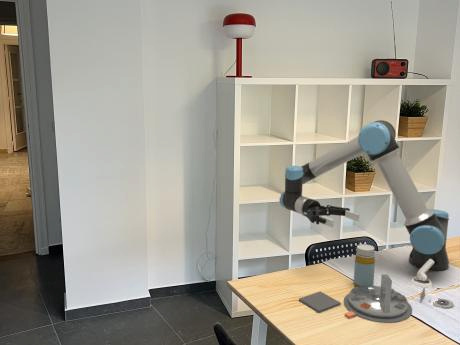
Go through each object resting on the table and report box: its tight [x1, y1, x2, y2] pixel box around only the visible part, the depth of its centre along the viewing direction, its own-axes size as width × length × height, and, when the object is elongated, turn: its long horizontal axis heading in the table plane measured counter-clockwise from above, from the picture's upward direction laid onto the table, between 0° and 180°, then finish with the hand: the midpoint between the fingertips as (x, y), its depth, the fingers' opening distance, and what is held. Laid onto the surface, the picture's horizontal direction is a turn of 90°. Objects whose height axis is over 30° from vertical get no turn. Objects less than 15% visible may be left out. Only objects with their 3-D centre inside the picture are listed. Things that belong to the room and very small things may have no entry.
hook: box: [410, 259, 434, 289], centre depth 166 cm, size 8×12×7 cm
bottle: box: [353, 243, 376, 287], centre depth 164 cm, size 7×7×15 cm
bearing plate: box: [343, 293, 413, 324], centre depth 151 cm, size 22×22×1 cm
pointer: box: [344, 311, 357, 320], centre depth 144 cm, size 3×2×1 cm, turn 122°
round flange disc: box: [348, 274, 409, 319], centre depth 149 cm, size 19×19×13 cm
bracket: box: [419, 288, 455, 309], centre depth 152 cm, size 7×10×4 cm, turn 57°
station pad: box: [298, 290, 342, 314], centre depth 153 cm, size 10×10×1 cm
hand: (346, 220), depth 169 cm, fingers open, 13 cm apart
